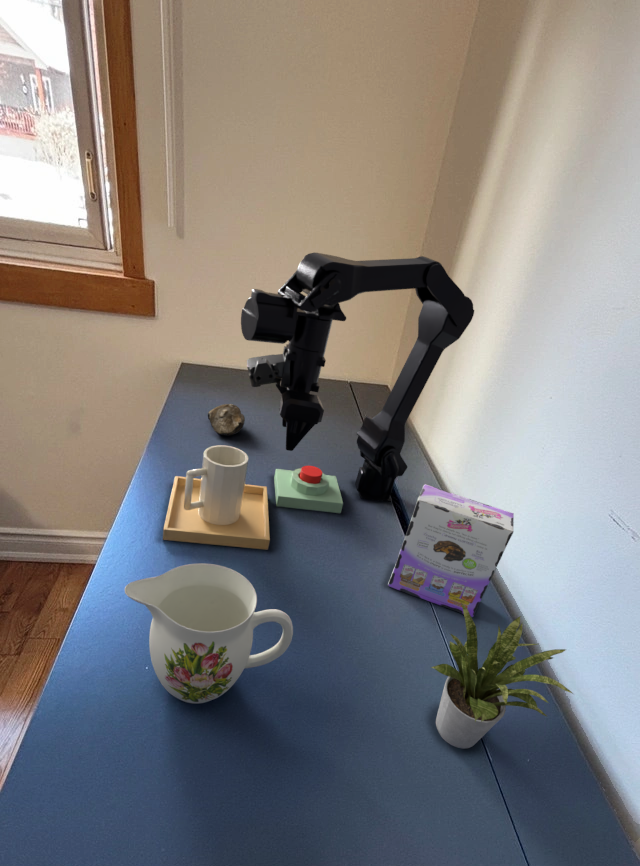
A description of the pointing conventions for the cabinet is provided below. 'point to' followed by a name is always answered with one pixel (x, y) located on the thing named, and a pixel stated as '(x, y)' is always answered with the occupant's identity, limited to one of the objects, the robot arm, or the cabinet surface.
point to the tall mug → (219, 485)
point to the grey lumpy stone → (226, 419)
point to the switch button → (311, 474)
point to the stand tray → (194, 529)
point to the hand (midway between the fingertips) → (287, 437)
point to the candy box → (451, 549)
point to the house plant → (485, 684)
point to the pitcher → (204, 629)
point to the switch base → (307, 492)
